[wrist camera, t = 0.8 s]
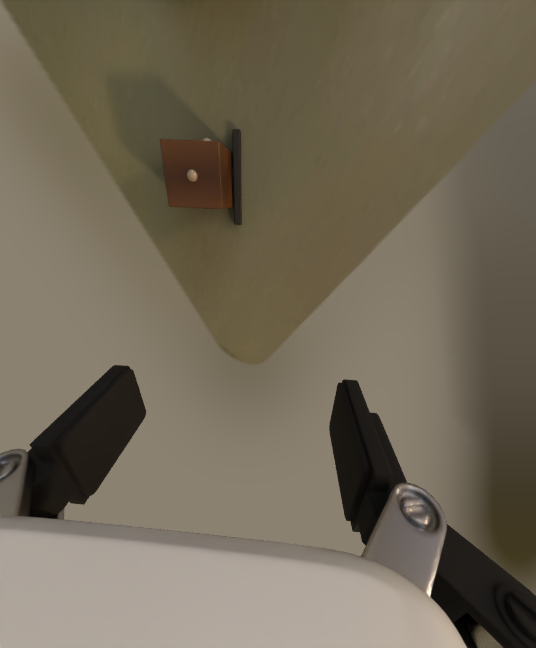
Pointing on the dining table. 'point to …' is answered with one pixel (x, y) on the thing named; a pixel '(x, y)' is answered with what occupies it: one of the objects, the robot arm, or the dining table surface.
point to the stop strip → (237, 175)
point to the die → (197, 173)
